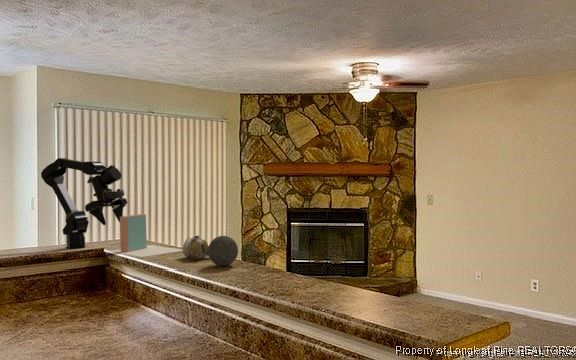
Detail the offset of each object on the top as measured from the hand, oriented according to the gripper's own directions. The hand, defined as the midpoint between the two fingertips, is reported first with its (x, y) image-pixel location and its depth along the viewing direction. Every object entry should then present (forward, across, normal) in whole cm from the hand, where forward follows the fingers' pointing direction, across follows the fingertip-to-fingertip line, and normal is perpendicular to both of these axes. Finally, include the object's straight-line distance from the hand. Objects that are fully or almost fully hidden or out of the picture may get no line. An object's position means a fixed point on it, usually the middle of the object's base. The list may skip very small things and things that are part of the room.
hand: (113, 223), depth 216 cm
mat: (+17, -1, -13) cm, 21 cm away
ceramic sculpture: (+28, -7, -40) cm, 50 cm away
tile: (+14, -1, -7) cm, 16 cm away
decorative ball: (+35, -17, -57) cm, 69 cm away
